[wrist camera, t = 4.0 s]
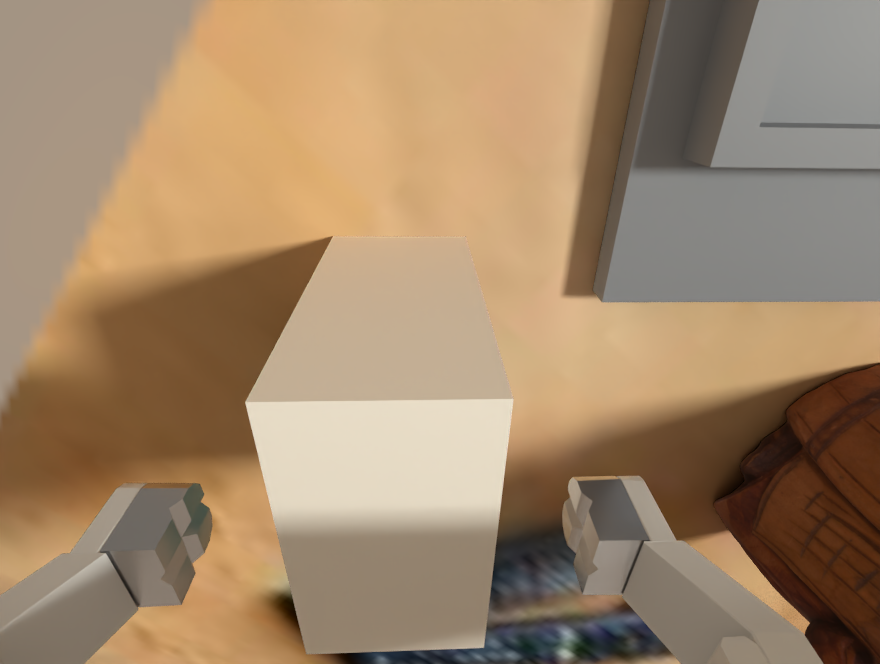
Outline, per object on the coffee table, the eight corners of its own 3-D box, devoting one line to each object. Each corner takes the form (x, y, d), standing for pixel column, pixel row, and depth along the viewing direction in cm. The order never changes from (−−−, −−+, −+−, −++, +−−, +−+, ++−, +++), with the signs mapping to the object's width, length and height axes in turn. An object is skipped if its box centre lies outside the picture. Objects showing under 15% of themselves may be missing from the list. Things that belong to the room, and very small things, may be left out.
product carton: (465, 236, 16) (513, 398, 8) (457, 418, 20) (483, 647, 12) (327, 235, 15) (232, 402, 8) (347, 419, 19) (298, 654, 12)
